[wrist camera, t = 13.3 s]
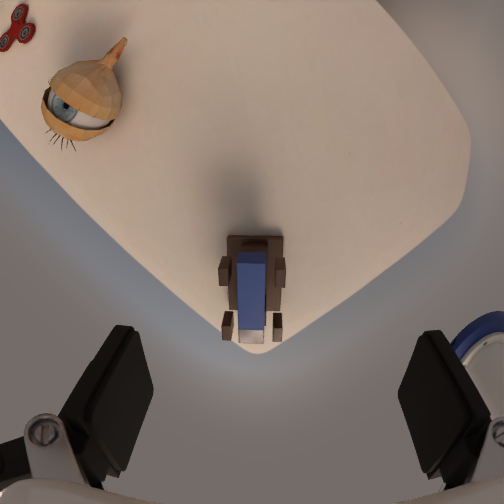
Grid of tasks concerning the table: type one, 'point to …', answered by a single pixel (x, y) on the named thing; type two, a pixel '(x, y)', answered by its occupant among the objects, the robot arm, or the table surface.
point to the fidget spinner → (17, 29)
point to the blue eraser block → (251, 296)
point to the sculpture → (84, 97)
